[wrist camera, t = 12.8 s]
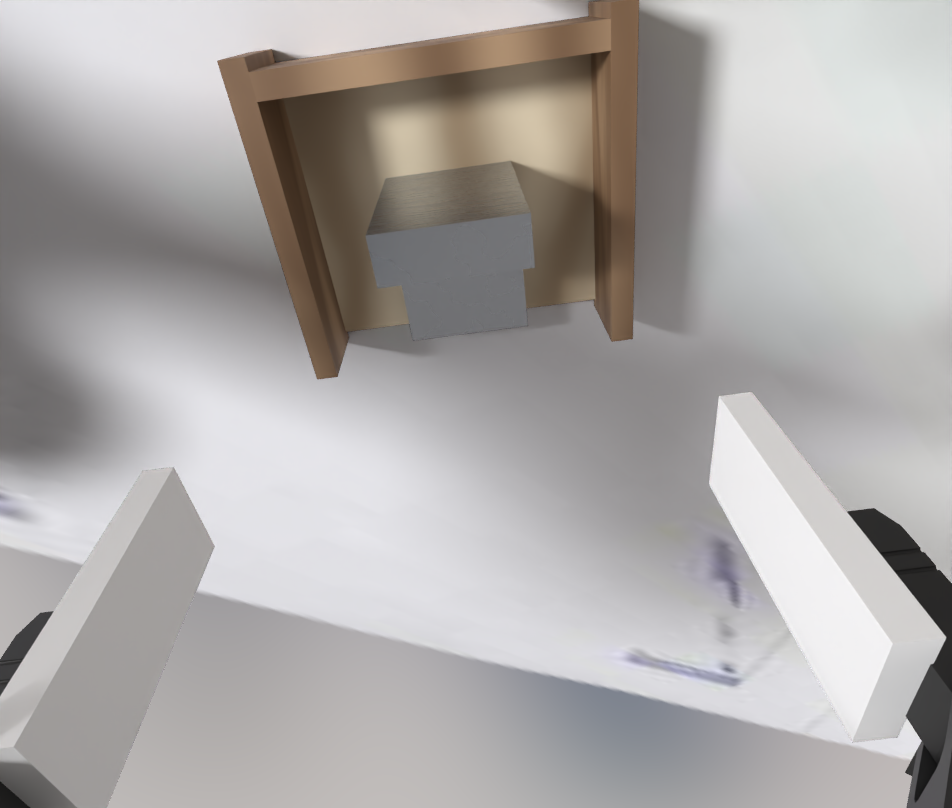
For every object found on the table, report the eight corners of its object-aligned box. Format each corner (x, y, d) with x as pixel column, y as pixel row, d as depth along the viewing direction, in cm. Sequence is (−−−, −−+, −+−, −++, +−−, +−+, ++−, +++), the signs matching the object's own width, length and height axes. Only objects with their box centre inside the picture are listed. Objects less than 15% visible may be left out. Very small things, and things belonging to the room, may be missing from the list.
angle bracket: (385, 178, 34) (365, 235, 26) (510, 160, 34) (530, 213, 25) (414, 323, 39) (405, 410, 31) (523, 309, 39) (544, 393, 30)
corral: (330, 339, 40) (317, 379, 36) (248, 52, 31) (217, 60, 27) (613, 302, 39) (632, 339, 35) (612, -2, 30) (638, -2, 26)
